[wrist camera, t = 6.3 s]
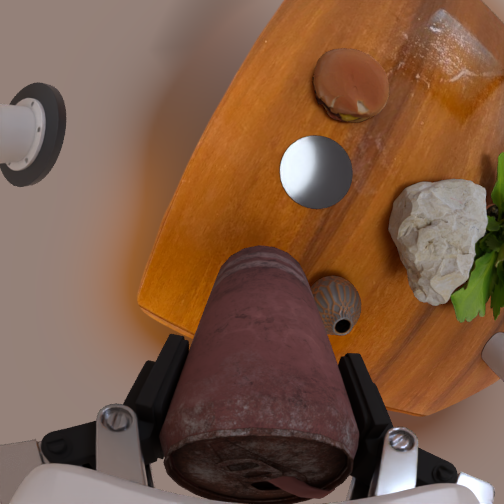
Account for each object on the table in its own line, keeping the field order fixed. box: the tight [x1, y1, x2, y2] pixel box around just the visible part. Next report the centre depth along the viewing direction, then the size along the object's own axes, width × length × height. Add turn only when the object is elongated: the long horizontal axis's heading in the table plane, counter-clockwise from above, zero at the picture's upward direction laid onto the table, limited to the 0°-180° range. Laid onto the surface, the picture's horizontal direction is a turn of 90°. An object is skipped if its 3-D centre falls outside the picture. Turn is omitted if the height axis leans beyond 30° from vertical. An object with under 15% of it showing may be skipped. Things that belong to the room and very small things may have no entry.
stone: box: [388, 179, 488, 306], centre depth 28 cm, size 16×10×15 cm, turn 108°
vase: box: [310, 276, 361, 335], centre depth 33 cm, size 7×7×9 cm
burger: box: [312, 48, 389, 122], centre depth 27 cm, size 10×9×5 cm
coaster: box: [280, 136, 353, 209], centre depth 32 cm, size 9×9×1 cm
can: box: [159, 246, 359, 504], centre depth 12 cm, size 6×6×14 cm
